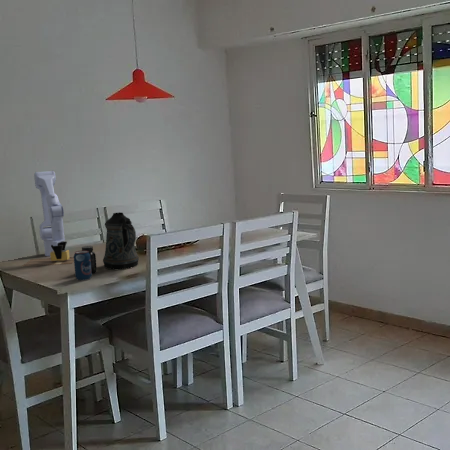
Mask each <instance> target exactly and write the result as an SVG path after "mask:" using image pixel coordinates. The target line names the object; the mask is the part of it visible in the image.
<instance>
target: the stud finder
mask: <svg viewBox="0 0 450 450" xmlns="http://www.w3.org/2000/svg"><path fill="white" fill-rule="evenodd" d="M49 257H50V258H51V261H56V260H68V259H69V258H70V250H69V249H65V250H62V257H61V259H57V258H56V256H55V253H54V251H52V252H50V256H49Z"/></svg>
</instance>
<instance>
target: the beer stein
mask: <svg viewBox="0 0 450 450" xmlns="http://www.w3.org/2000/svg"><path fill="white" fill-rule="evenodd" d="M132 223H133V222H132V221H131V219H130V218H129V217H128V216H126V215H125V214H124V213H123V212H114V213H113V214H112V215H111V217H110V218H108V219H107V220H106V221H105V222H104V228H105V229H106V236H105V237H106V238H105V251H104V255H103V259H102V262H103V266H104V268H105V269H106V270H111V271H112V270H115V269H118V270H126V268H127V269H132V268H135V267H137V266H138V265H139V261H140V260H139V257H140V256H139V255H138V253H137V251H136V247H135V242H136V238H137V235H136V234H137V233H136V229H135V227H134V226H133V224H132ZM131 267H132V268H131ZM115 271H116V270H115Z"/></svg>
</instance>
